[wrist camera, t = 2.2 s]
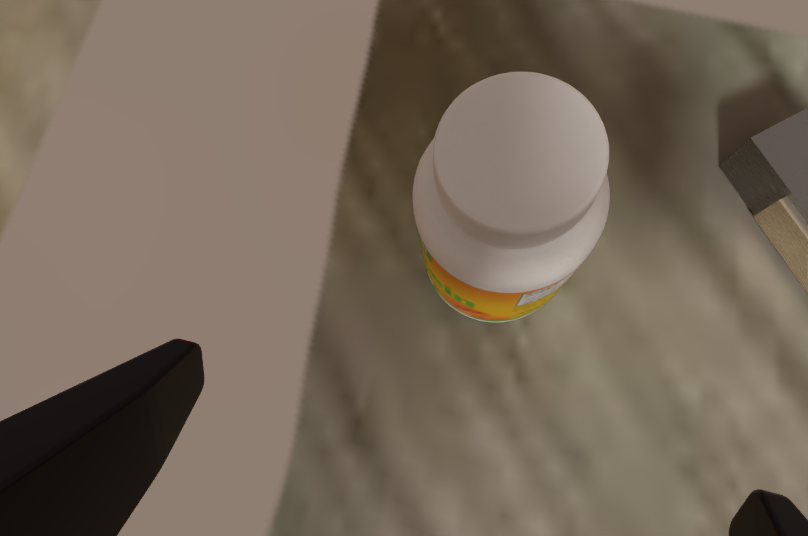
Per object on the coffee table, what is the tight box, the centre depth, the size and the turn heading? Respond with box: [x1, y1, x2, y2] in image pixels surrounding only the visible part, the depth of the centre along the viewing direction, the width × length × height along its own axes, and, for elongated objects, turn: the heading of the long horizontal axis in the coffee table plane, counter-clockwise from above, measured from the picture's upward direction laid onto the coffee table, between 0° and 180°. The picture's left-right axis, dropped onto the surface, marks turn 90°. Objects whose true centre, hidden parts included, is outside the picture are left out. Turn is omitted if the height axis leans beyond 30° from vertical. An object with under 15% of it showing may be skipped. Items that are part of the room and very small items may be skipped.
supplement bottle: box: [412, 72, 610, 322], centre depth 18 cm, size 5×5×10 cm
